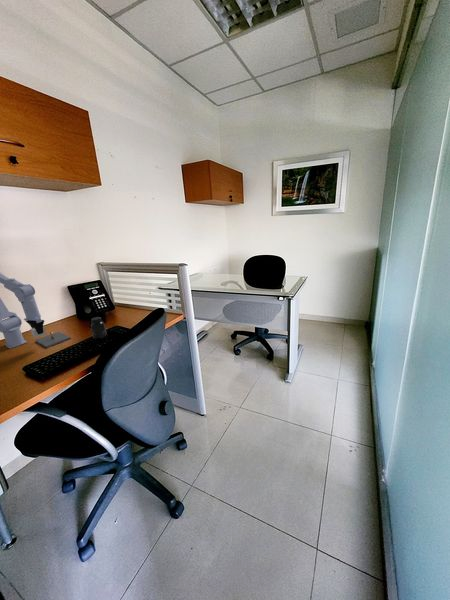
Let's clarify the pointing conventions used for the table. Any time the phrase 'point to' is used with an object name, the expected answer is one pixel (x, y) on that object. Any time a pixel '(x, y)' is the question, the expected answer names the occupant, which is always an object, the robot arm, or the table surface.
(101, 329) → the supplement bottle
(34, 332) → the collar
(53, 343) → the junction plate
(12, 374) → the table surface
